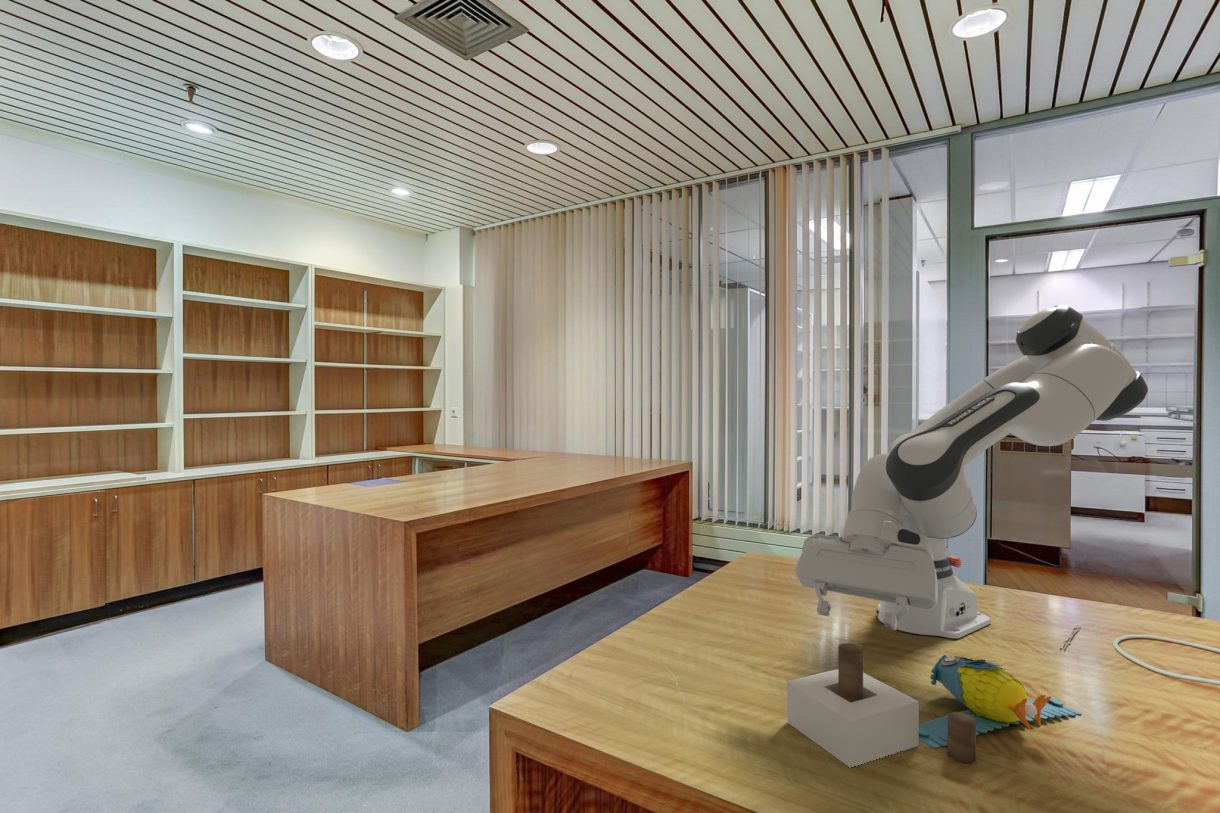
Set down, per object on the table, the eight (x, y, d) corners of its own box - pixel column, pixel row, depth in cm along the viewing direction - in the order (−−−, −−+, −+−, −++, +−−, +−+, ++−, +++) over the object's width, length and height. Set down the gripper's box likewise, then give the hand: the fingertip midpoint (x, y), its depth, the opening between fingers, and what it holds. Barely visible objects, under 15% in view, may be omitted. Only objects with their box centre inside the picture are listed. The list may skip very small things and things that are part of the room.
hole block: (850, 705, 94) (850, 665, 94) (918, 745, 83) (918, 701, 83) (787, 722, 89) (787, 681, 89) (850, 768, 78) (850, 720, 78)
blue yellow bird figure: (954, 699, 79) (870, 654, 93) (955, 767, 79) (871, 712, 93) (1108, 667, 87) (1009, 631, 102) (1109, 729, 87) (1010, 684, 102)
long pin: (845, 725, 88) (845, 641, 88) (867, 734, 86) (867, 648, 85) (834, 733, 86) (834, 647, 86) (856, 743, 83) (856, 654, 83)
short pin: (958, 747, 82) (958, 710, 82) (981, 760, 79) (981, 721, 79) (941, 753, 81) (942, 715, 81) (964, 766, 78) (964, 727, 78)
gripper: (802, 522, 103) (780, 596, 95) (940, 538, 91) (928, 624, 83) (810, 543, 107) (790, 616, 99) (944, 562, 95) (933, 646, 87)
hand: (855, 620), depth 91 cm, fingers open, 8 cm apart
